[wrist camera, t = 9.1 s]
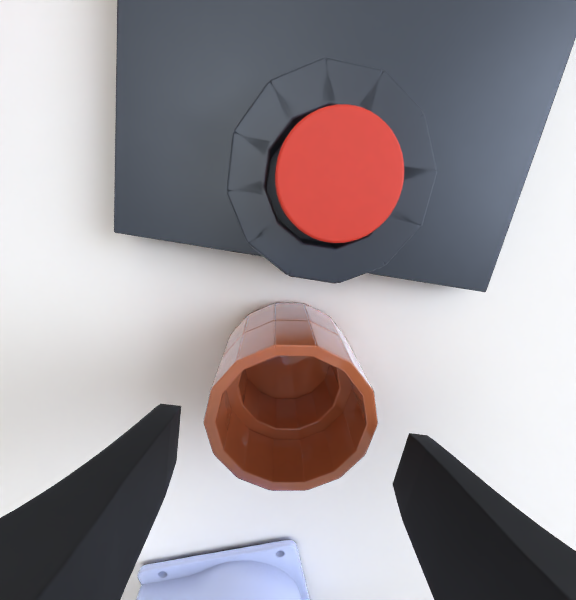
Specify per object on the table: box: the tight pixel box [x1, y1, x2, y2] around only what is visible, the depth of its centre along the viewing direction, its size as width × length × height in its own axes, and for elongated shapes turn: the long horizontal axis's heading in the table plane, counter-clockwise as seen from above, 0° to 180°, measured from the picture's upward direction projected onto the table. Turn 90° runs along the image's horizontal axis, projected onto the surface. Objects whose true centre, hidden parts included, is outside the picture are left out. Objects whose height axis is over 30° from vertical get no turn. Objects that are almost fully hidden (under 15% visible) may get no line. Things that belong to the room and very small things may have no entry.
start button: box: [275, 104, 404, 243], centre depth 10 cm, size 4×4×2 cm
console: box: [114, 0, 576, 292], centre depth 11 cm, size 11×15×4 cm
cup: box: [204, 303, 378, 491], centre depth 13 cm, size 6×6×5 cm
